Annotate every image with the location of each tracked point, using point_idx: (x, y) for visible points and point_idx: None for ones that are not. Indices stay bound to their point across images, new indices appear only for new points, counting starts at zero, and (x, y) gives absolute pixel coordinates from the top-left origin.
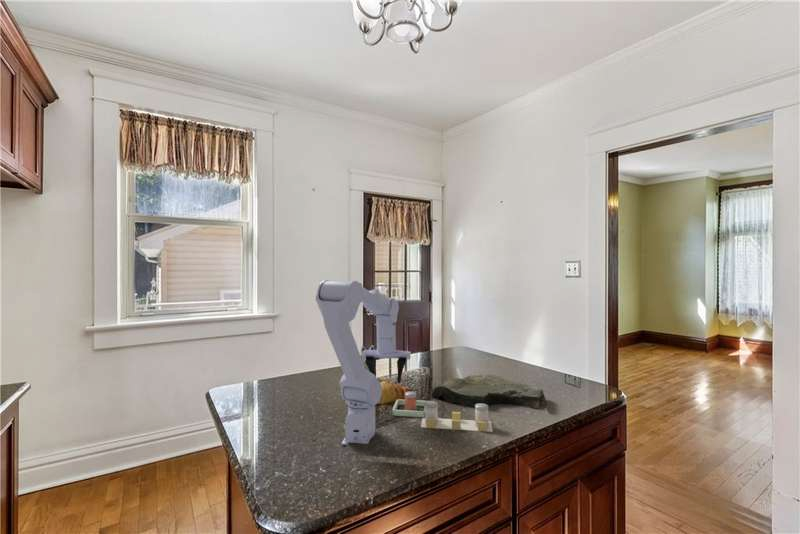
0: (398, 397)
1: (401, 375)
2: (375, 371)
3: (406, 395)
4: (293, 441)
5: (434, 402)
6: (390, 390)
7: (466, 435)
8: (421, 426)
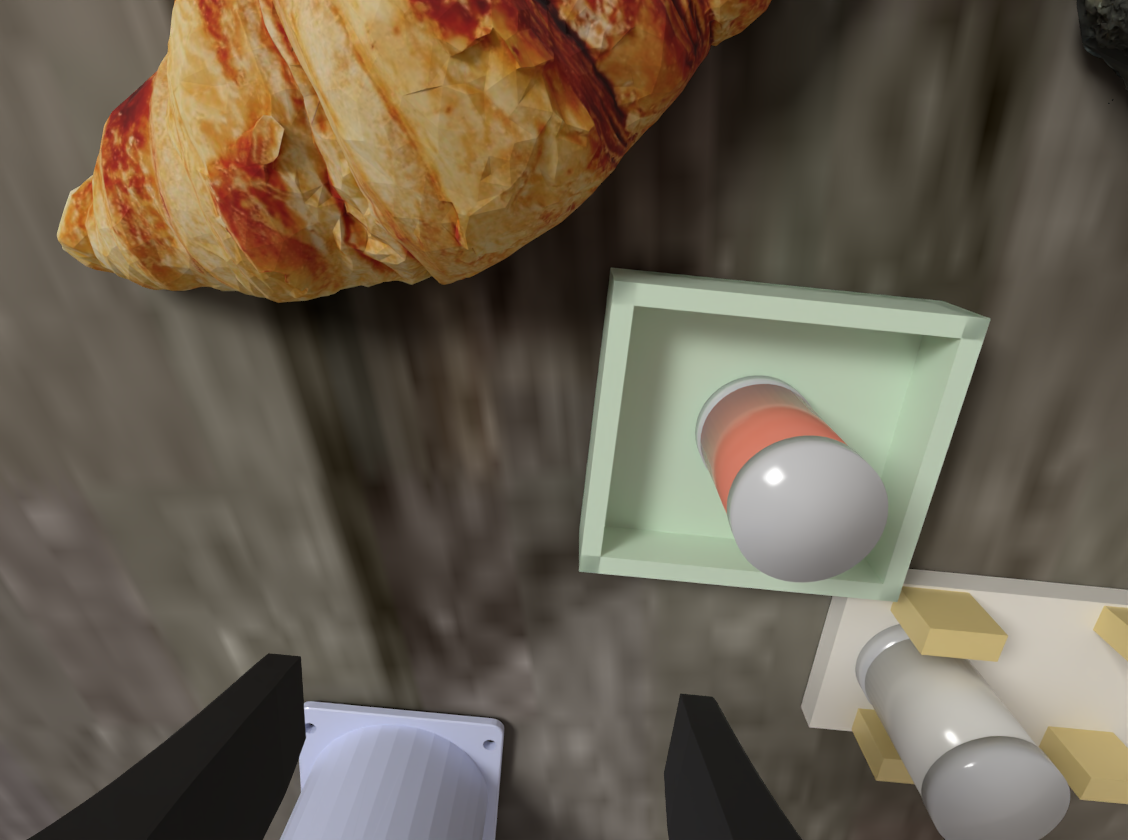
0: (629, 146)
1: (750, 772)
2: (217, 788)
3: (752, 562)
4: (12, 828)
5: (1039, 795)
6: (522, 210)
7: None
8: (817, 717)
